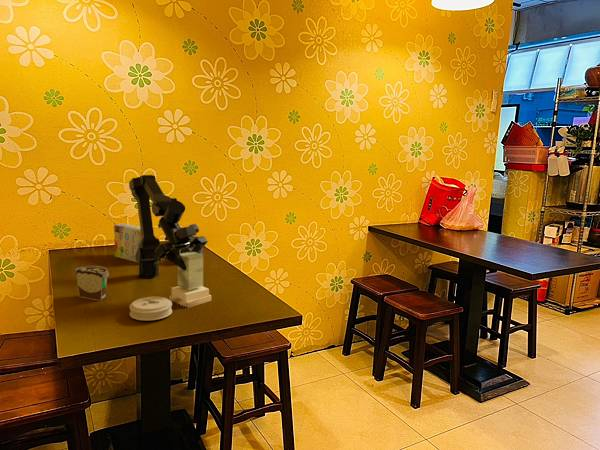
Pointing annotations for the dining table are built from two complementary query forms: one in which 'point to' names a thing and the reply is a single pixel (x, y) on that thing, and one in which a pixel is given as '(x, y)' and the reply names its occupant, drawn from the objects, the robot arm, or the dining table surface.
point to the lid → (150, 308)
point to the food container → (92, 282)
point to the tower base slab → (190, 303)
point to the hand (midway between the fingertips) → (193, 267)
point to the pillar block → (191, 271)
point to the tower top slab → (190, 293)
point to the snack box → (126, 241)
